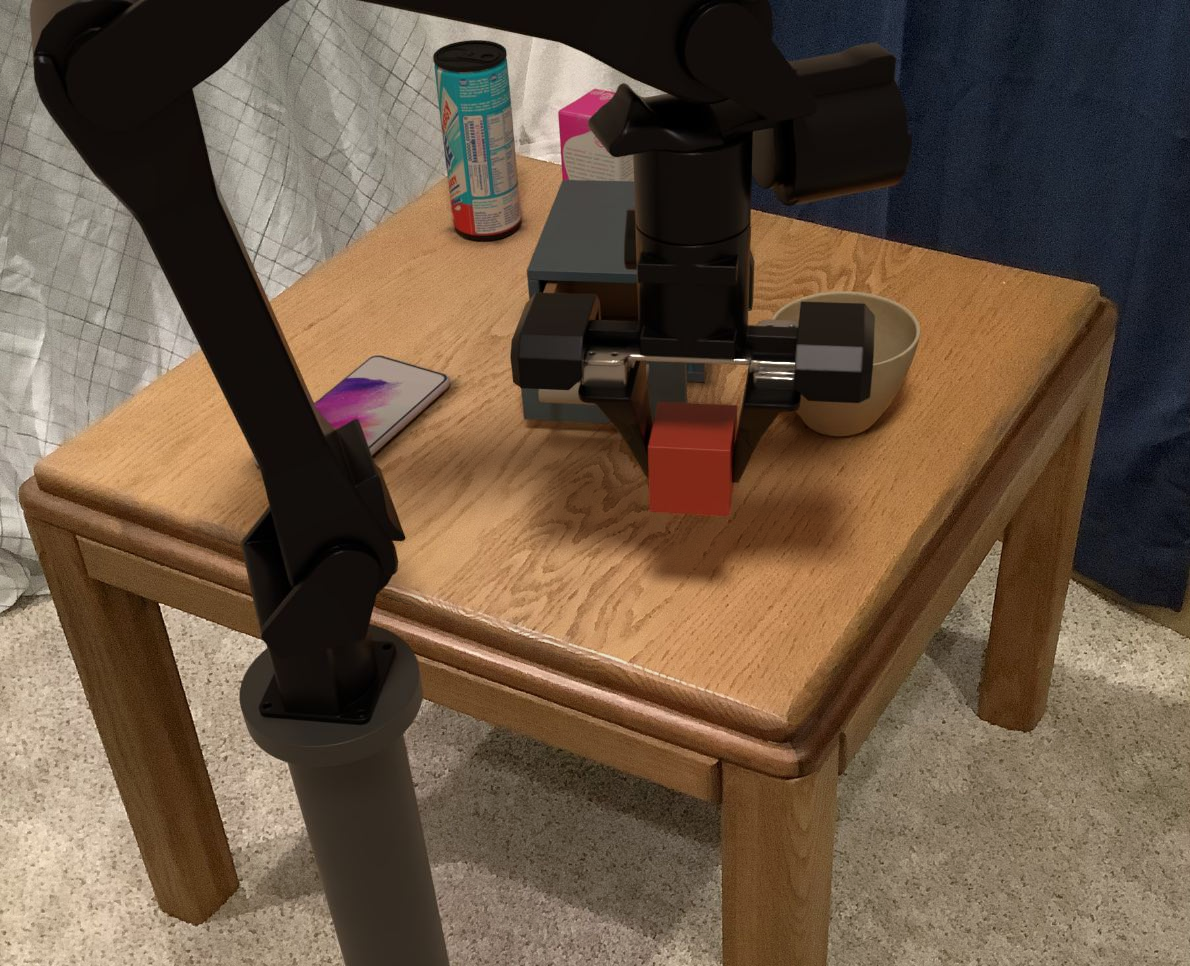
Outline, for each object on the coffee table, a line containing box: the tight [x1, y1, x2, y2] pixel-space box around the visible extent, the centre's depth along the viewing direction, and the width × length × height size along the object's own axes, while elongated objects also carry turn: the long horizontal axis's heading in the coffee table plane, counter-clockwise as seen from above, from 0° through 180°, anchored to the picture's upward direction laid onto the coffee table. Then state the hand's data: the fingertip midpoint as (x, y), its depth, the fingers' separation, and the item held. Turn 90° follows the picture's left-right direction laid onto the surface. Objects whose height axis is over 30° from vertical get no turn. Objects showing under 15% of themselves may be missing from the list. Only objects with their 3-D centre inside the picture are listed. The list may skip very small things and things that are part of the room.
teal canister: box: [432, 39, 522, 242], centre depth 119 cm, size 6×6×15 cm
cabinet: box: [526, 179, 709, 383], centre depth 107 cm, size 15×13×9 cm
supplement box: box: [557, 88, 634, 181], centre depth 118 cm, size 6×6×12 cm
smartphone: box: [252, 354, 451, 467], centre depth 102 cm, size 7×1×15 cm
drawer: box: [520, 280, 688, 425], centre depth 100 cm, size 18×11×7 cm, turn 171°
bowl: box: [771, 290, 921, 437], centre depth 98 cm, size 10×10×7 cm
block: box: [648, 402, 738, 517], centre depth 80 cm, size 4×4×4 cm
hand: (693, 476), depth 81 cm, fingers closed on block, 4 cm apart
